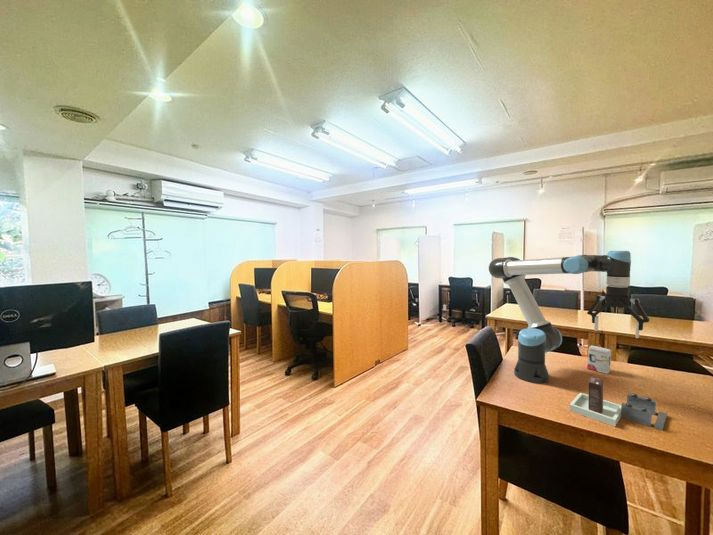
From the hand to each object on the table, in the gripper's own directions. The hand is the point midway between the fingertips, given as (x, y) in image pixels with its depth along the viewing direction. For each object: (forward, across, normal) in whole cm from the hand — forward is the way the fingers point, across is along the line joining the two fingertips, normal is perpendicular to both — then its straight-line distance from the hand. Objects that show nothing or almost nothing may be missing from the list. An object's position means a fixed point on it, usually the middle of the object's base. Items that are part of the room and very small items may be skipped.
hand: (615, 333), depth 127 cm
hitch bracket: (+27, +12, -15) cm, 33 cm away
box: (+26, -1, -24) cm, 36 cm away
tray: (+27, -1, -24) cm, 36 cm away
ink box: (+27, -10, +23) cm, 37 cm away
